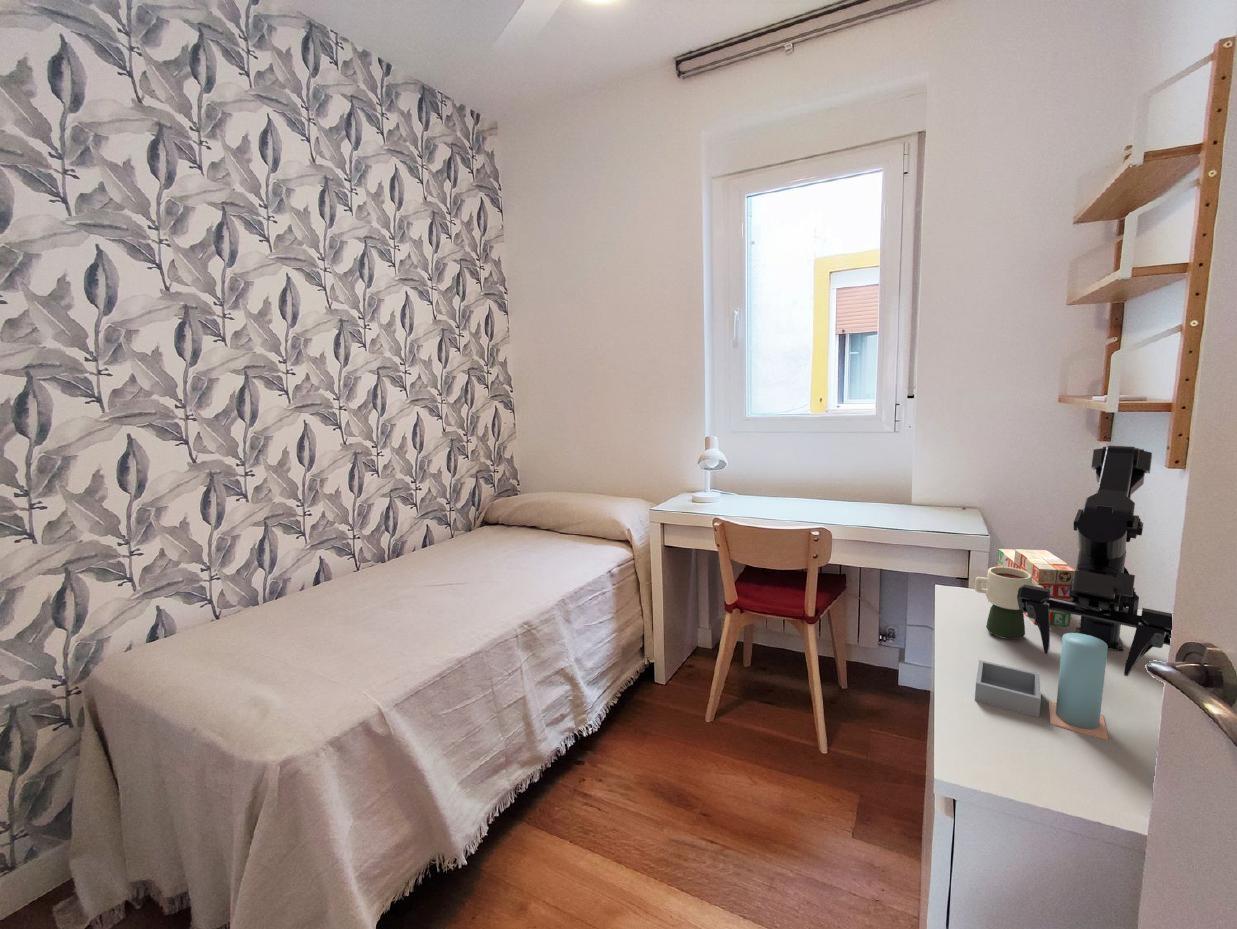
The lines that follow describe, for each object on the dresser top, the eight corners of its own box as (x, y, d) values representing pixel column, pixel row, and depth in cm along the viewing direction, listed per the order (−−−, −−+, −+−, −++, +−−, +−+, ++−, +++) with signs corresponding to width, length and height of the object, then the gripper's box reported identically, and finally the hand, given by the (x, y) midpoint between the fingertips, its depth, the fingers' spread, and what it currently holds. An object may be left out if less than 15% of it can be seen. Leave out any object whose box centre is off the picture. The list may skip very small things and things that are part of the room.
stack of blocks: (995, 584, 131) (999, 536, 129) (1025, 586, 129) (1029, 537, 127) (1034, 624, 111) (1039, 567, 109) (1070, 627, 109) (1076, 569, 107)
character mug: (1038, 633, 107) (1043, 571, 105) (1040, 649, 101) (1046, 583, 99) (972, 621, 113) (976, 562, 111) (971, 635, 107) (975, 573, 105)
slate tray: (977, 677, 93) (979, 659, 93) (1037, 692, 88) (1039, 673, 88) (974, 702, 87) (975, 682, 86) (1038, 719, 82) (1040, 699, 81)
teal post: (1050, 705, 84) (1057, 630, 82) (1090, 711, 82) (1098, 635, 80) (1062, 725, 79) (1070, 646, 77) (1105, 732, 78) (1114, 651, 76)
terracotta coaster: (1048, 704, 85) (1048, 700, 85) (1102, 718, 82) (1102, 714, 81) (1050, 726, 80) (1050, 722, 80) (1107, 742, 76) (1108, 738, 76)
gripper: (1023, 537, 89) (1004, 624, 83) (1187, 562, 76) (1177, 667, 70) (1028, 569, 96) (1011, 651, 90) (1179, 596, 82) (1170, 694, 77)
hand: (1084, 664), depth 82 cm, fingers open, 9 cm apart
